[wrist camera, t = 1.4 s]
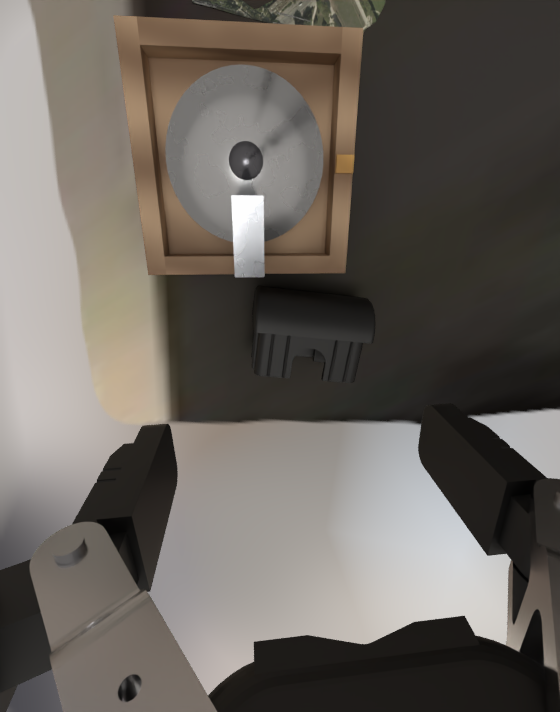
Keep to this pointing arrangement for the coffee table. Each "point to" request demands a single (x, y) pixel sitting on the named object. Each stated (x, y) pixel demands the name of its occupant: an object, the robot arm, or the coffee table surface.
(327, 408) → the coffee table surface
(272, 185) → the dial
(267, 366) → the end cap
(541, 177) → the coffee table surface
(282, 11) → the eiffel tower figurine
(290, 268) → the wooden square tray
